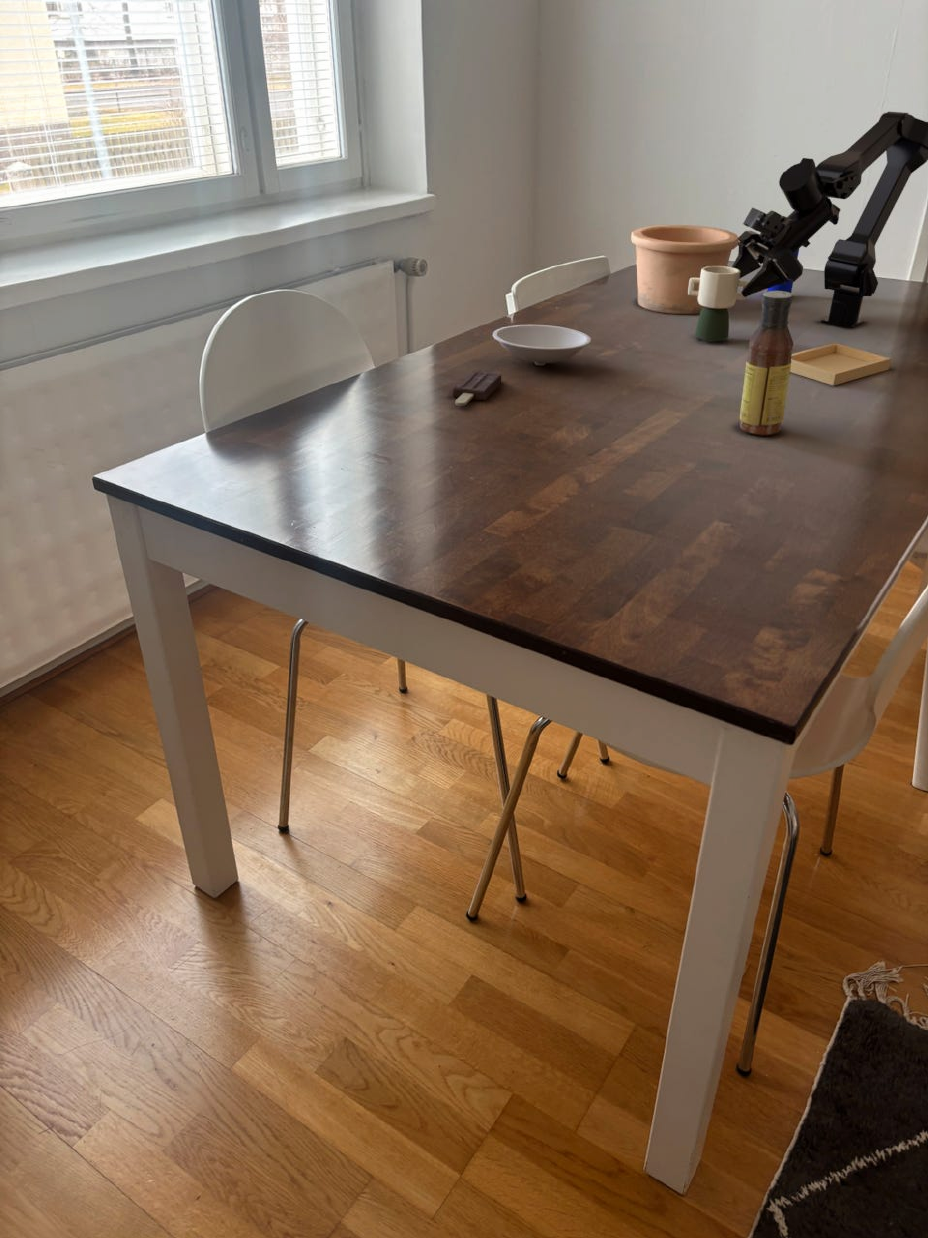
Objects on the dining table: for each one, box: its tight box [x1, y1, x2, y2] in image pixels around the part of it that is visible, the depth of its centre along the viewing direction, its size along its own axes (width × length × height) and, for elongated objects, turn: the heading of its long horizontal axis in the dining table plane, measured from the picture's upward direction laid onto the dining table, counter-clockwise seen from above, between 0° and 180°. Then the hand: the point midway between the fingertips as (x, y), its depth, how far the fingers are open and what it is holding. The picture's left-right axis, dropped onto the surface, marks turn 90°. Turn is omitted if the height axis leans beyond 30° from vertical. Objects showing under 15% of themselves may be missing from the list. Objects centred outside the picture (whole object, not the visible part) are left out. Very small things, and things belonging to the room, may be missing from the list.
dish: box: [492, 324, 592, 366], centre depth 168 cm, size 18×14×5 cm
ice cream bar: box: [452, 369, 502, 407], centre depth 155 cm, size 5×2×15 cm
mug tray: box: [790, 342, 892, 387], centre depth 168 cm, size 12×16×2 cm
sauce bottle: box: [739, 291, 794, 436], centre depth 138 cm, size 6×6×20 cm
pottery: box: [630, 224, 740, 315], centre depth 202 cm, size 22×22×14 cm
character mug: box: [688, 265, 750, 342], centre depth 180 cm, size 11×7×13 cm, turn 72°
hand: (733, 288), depth 178 cm, fingers open, 9 cm apart
